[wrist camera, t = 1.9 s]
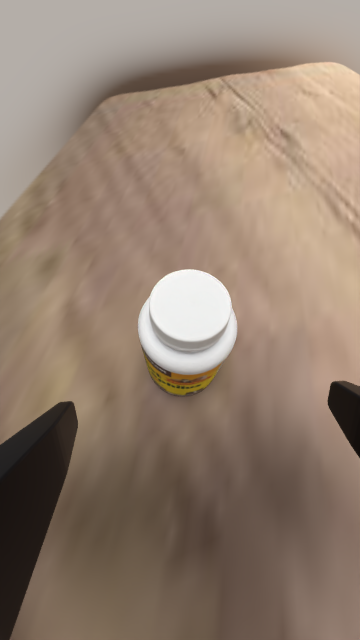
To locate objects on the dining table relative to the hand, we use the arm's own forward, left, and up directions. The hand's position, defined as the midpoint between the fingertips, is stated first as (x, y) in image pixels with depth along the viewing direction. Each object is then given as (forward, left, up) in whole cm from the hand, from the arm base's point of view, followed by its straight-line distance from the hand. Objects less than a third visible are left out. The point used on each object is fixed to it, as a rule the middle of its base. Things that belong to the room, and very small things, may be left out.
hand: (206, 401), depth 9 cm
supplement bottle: (+3, -4, -12) cm, 13 cm away
